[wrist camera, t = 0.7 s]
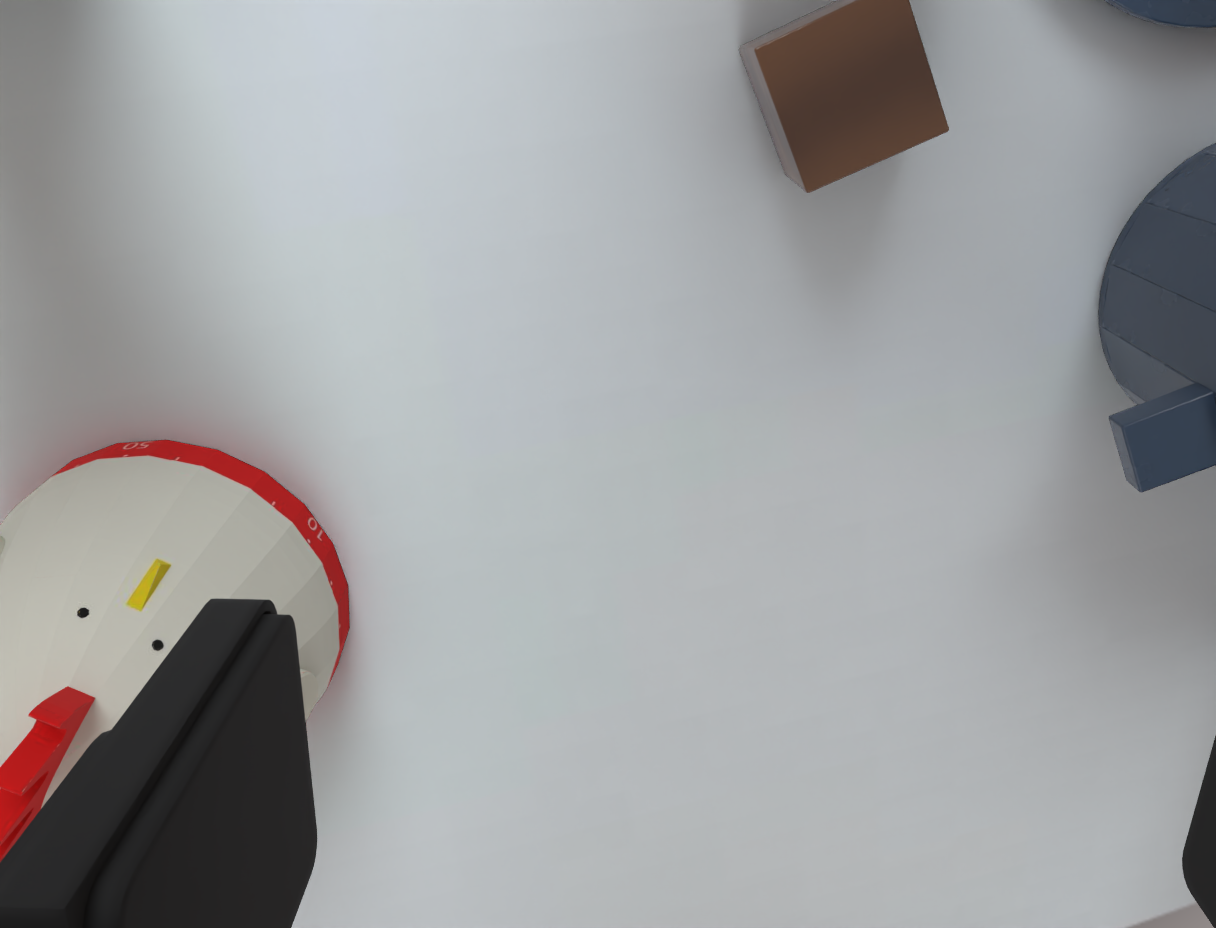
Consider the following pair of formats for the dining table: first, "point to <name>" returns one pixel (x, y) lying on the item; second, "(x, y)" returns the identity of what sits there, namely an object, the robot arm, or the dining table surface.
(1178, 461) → the pot
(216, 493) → the kitchen timer
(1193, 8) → the lid
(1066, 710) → the dining table surface
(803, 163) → the block
